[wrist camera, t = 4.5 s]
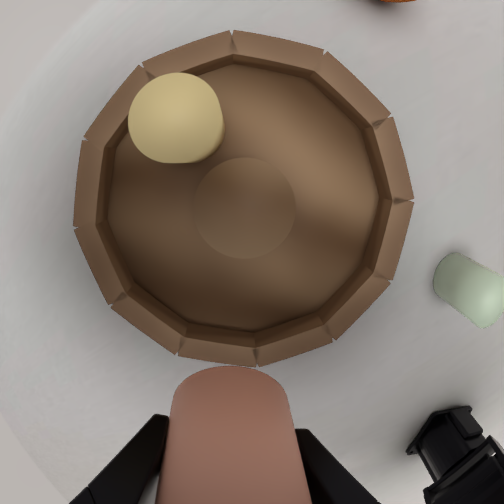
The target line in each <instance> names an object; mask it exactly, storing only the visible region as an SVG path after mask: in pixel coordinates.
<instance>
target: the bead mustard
mask: <svg viewBox="0 0 504 504" xmlns="http://www.w3.org/2000/svg"><path fill="white" fill-rule="evenodd" d="M128 128H129V133H130V136H131V138H132V141H133V142H134V144H135V146H136V147H137V148H138V149H139V151H141V152H142V153H143V154H144V155H145V156H147V157H149V158H150V159H152V160H155V161H158V162H163V163H196V162H200V161H203V160H205V159H207V158H209V157H210V156H212V155H213V154H214V153H215V152H216V151H217V150H218V148H219V147H220V145H221V144H222V141H223V139H224V135H225V123H224V119H223V115H222V111H221V108H220V104H219V101H218V98H217V96H216V94H215V92H214V91H213V89H212V88H211V87H210V86H209V85H208V84H207V83H206V82H205V81H204V80H202V79H200V78H199V77H196V76H194V75H191V74H187V73H169V74H165V75H162V76H159V77H157V78H155V79H153V80H152V81H150V82H149V83H147V84H146V85H145V86H144V87H143V88H142V89H141V90H140V91H139V92H138V94H137V95H136V96H135V98H134V100H133V102H132V104H131V107H130V110H129V116H128Z"/></svg>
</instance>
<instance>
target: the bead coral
mask: <svg viewBox="0 0 504 504" xmlns="http://www.w3.org/2000/svg"><path fill="white" fill-rule="evenodd" d="M155 504H312V501H311V497H310V493H309V488H308V484H307V480H306V476H305V471H304V467H303V463H302V458H301V454H300V450H299V446H298V441H297V437H296V433H295V429H294V424H293V420H292V416H291V412H290V407H289V403H288V399H287V395H286V393H285V391H284V389H283V388H282V386H281V385H280V384H279V383H278V382H277V381H276V380H274V379H273V378H272V377H270V376H268V375H267V374H265V373H263V372H260V371H257V370H254V369H251V368H246V367H240V366H220V367H213V368H208V369H205V370H202V371H199V372H197V373H195V374H193V375H191V376H189V377H188V378H186V379H185V380H184V381H183V382H182V383H181V384H180V385H179V386H178V388H177V389H176V391H175V394H174V396H173V401H172V406H171V412H170V417H169V423H168V428H167V434H166V439H165V445H164V450H163V456H162V461H161V467H160V473H159V479H158V485H157V492H156V498H155Z"/></svg>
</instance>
